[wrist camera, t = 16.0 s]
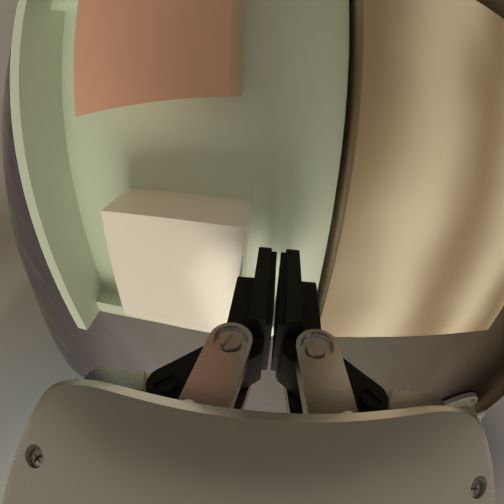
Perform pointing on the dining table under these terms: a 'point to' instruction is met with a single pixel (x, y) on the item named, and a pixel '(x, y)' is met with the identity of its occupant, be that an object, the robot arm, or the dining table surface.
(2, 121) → the dining table surface
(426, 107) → the birch plate
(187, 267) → the cream tile
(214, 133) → the bin
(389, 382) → the dining table surface
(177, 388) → the robot arm
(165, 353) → the dining table surface
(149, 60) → the terracotta tile
